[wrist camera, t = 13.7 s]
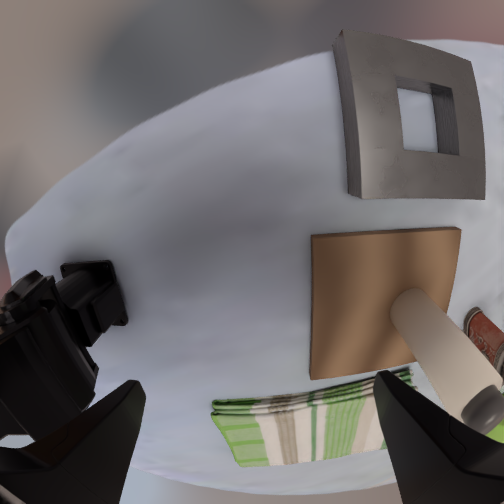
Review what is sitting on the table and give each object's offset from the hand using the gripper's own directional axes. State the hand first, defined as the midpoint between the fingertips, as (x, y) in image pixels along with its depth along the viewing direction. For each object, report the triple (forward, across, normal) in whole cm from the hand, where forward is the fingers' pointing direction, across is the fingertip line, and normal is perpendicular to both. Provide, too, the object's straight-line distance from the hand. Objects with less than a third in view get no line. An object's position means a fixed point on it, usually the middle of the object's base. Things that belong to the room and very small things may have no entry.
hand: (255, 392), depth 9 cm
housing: (+13, -13, -11) cm, 21 cm away
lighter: (+13, -25, +11) cm, 30 cm away
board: (+13, -11, +5) cm, 18 cm away
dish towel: (+14, -6, +23) cm, 27 cm away
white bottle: (+12, -13, +5) cm, 18 cm away
